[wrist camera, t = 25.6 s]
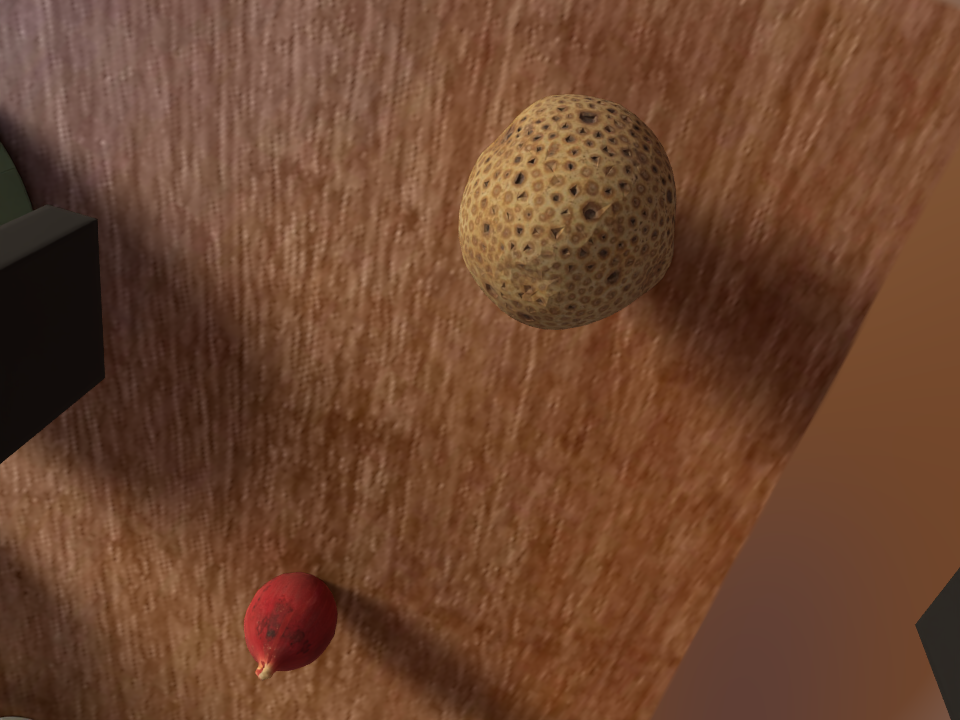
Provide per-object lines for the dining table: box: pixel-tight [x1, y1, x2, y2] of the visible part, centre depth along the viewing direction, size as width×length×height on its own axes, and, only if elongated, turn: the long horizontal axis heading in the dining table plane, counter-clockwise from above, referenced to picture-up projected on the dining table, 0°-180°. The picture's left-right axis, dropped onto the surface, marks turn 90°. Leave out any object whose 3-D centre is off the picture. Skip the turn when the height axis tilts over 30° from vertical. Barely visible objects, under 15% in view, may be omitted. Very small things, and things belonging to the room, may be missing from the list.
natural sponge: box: [459, 94, 676, 330], centre depth 32 cm, size 9×9×10 cm
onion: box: [244, 572, 338, 680], centre depth 49 cm, size 6×6×8 cm
